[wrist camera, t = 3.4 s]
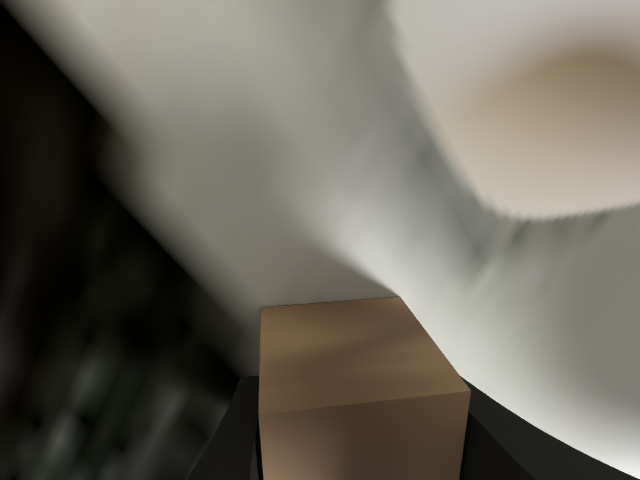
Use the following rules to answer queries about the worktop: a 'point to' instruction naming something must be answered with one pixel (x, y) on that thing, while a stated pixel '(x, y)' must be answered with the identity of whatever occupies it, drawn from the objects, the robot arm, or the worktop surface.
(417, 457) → the walnut block
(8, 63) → the worktop surface
